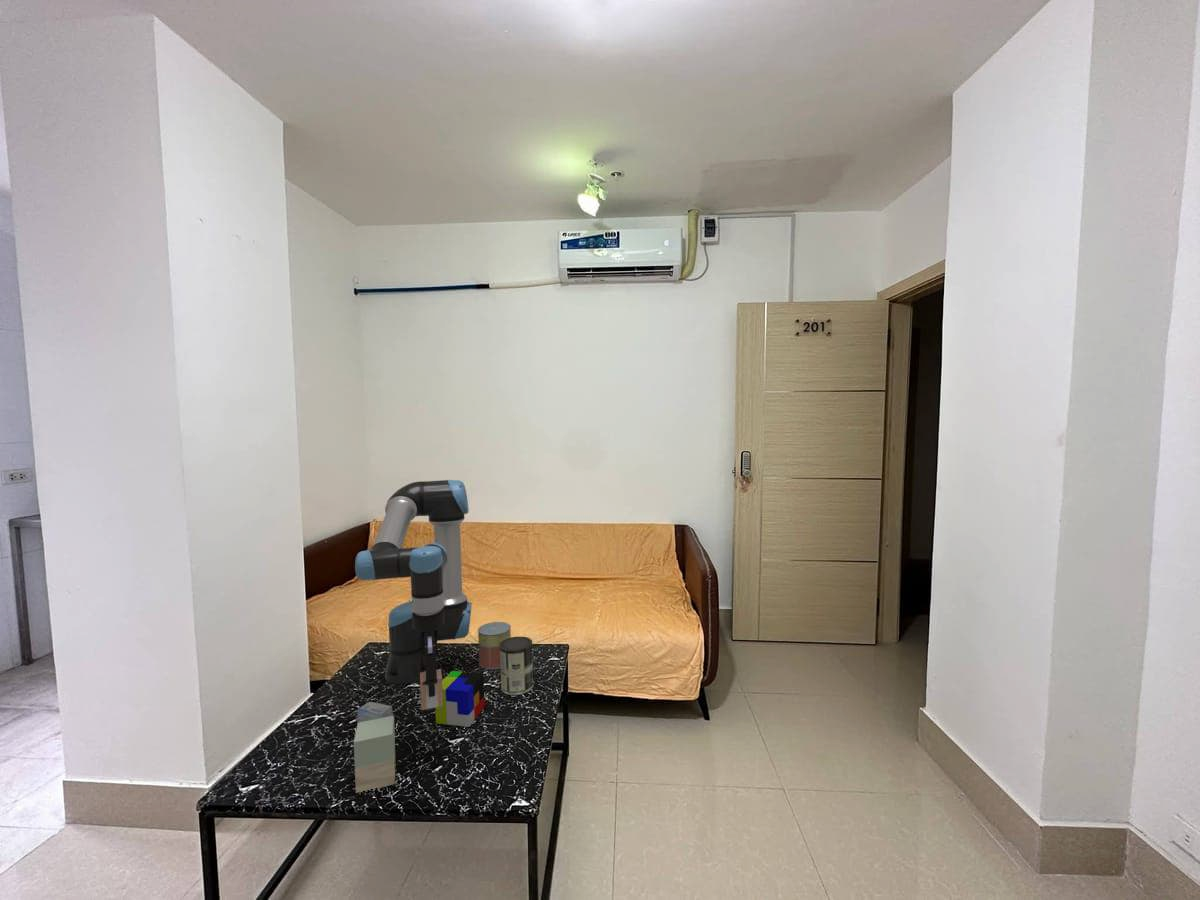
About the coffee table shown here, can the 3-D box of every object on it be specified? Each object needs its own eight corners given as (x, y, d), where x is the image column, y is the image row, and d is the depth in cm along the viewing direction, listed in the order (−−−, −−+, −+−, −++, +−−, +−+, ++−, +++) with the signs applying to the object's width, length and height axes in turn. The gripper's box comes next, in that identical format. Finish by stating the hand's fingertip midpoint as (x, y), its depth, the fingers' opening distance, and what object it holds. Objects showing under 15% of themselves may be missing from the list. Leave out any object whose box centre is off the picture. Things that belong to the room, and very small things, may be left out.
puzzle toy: (469, 727, 135) (467, 691, 135) (435, 723, 137) (434, 688, 137) (484, 706, 145) (483, 673, 145) (453, 703, 147) (452, 670, 147)
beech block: (359, 771, 118) (358, 747, 118) (395, 762, 121) (394, 739, 121) (356, 794, 111) (354, 768, 111) (394, 784, 114) (393, 759, 113)
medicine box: (394, 737, 131) (393, 705, 131) (381, 747, 127) (380, 714, 127) (371, 731, 134) (369, 700, 134) (358, 741, 130) (356, 709, 129)
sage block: (358, 747, 118) (357, 722, 118) (394, 739, 121) (393, 715, 121) (354, 768, 111) (353, 742, 110) (393, 759, 113) (392, 734, 113)
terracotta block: (421, 699, 125) (420, 672, 124) (441, 695, 126) (440, 668, 126) (421, 710, 120) (420, 682, 119) (442, 705, 122) (441, 678, 121)
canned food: (507, 651, 181) (506, 619, 180) (515, 664, 170) (514, 630, 170) (476, 658, 176) (474, 625, 175) (482, 672, 166) (481, 637, 165)
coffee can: (524, 675, 163) (523, 633, 162) (539, 688, 154) (537, 644, 154) (495, 684, 157) (494, 641, 157) (508, 699, 149) (507, 653, 148)
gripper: (412, 600, 129) (415, 686, 130) (411, 626, 112) (416, 725, 113) (442, 596, 131) (445, 680, 133) (446, 621, 115) (450, 717, 116)
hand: (431, 700), depth 123 cm, fingers closed on terracotta block, 5 cm apart
